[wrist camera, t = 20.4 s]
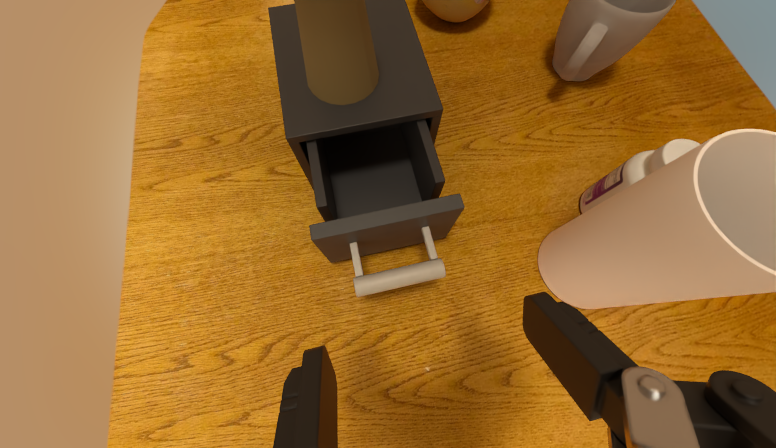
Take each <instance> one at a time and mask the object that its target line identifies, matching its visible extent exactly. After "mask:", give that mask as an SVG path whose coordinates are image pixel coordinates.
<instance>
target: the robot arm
mask: <svg viewBox="0 0 776 448" xmlns="http://www.w3.org/2000/svg"><path fill="white" fill-rule="evenodd" d="M523 329H524V332H525V335H526V337H527V338H528V340H529V341H530V343H531V344H532V345H533V347H534V348H535V349H536V351H537V352H538V353H539V355H540V356H541V357H542V359H543V360H544V361H545V363H546V364H547V365H548V367H549V368H550V369H551V371H552V372H553V373H554V374H555V376H556V377H557V378H558V380H559V381H560V382H561V384H562V385H563V386H564V388H565V389H566V390H567V392H568V393H569V394H570V396H571V397H572V398H573V400H574V401H575V402H576V404H577V405H578V406H579V408H580V409H581V410H582V411H583V413H584V414H585V415H586V417H587V418H588V419H589V421H592V420H596V419H599V418H603V420H604V421H605V422H606V423H607V425H608V428H607V433H608V444H609V448H776V392H775V391H773V390H772V389H771V388H769V387H768V386H766V385H765V384H763V383H762V382H760V381H758V380H756V379H754V378H752V377H750V376H747V375H744V374H741V373H738V372H734V371H723V370H722V371H717V372H714V373H713V374H712V375H711V376H710V378H709V380H708V382H689V381H674V380H671V379H669V378H668V377H667V376H665V375H663V374H662V373H660V372H658V371H655V370H653V369H649V368H646V367H639V366H638V365H637V364H636V363H634V362H633V361H632V360H631V359H630V358H629V357H628V356H627V355H626V354H625V353H624V352H623V351H621V350H620V349H619V348H618V347H617V346H616V345H615V344H614V343H613V342H612V341H611V340H610V339H609V338H607V337H606V336H605V335H604V334H603V333H602V332H601V331H600V330H598V329H597V327H596V326H595V325H593V324H592V323H591V322H589V321H588V319H587V318H586V317H585V316H584V315H583V314H582V313H581V312H579V311H578V310H577V309H576V308H574V307H572V306H570V305H568V304H566V303H564V302H558V303H557V302H556V301H555V300H554V299H553V298H552V297H551V296H550V295H549V294H548V293H546V292H540V293H536V294H532V295H528V296H525V297H524V306H523ZM273 448H338V438H337V381H336V375H335V372H334V369H333V366H332V363H331V360H330V358H329V355H328V352H327V350H326V347H325V346H320V347H316V348H312V349H308V350H305V351H304V353H303V361H302V366H301V367H297V368H293V369H292V370H291V372H290V373H289V375H288V377H287V379H286V381H285V382H284V387H283V393H282V400H281V405H280V413H279V416H278V422H277V428H276V434H275V440H274V445H273Z"/></svg>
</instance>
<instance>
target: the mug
mask: <svg viewBox="0 0 776 448" xmlns="http://www.w3.org/2000/svg"><path fill="white" fill-rule="evenodd" d="M675 2H676V0H570V1H569V3H568V5H567V7H566V9H565V12H564V14H563V17H562V20H561V22H560V26H559V29H558V32H557V37H556V42H555V51H554V56H553V59H552V65H553V68H554V69H555V71H556V72H557V73H558V74H559V76H560V78H562V79H564V80H566V81H584V80H587V79H589V78H590V77H591V76H593V75H594V74H596V73H597V72H599V71H601V70H603V69H605V68H606V67H608V66H610V65H611V64H613V63H614V62H616V61H617V60H618V59H620V58H621V57H622V56H624V55H625V54H626V53H627V52H629V51H630V50H631V49H632V48H633V47H634V46H636V45H637V44H638V43H639V42H640V41H641V40H642V39H643V38H644V37H645V36H646V35H647V34H648V33H649V32H650V31H651V30H652V29H653V28H654V27H655V26H656V25H657V24H658V23H659V21H660V20H661V19H662V18H663V17H664V16H665V15H666V14H667V13H668V12H669V10H670V9H671V8H672V6H673V5H674V4H675Z"/></svg>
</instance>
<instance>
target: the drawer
mask: <svg viewBox="0 0 776 448" xmlns="http://www.w3.org/2000/svg"><path fill="white" fill-rule="evenodd" d="M306 144H307V150H308V156H309V163H310V169H311V175H312V181H313V187H314V194H315V200H316V206H317V209H318V210H319V212H320V214H321V215H322V217H323V219H324V220H325V222H322V223H318V224H313V225H310V226H309V227H310V233H311V240H312V241H313V242H314V244H315V245H316V246H317V247H318V248H319V249H320V250H321V252H322V253H323V254H324V255H325V256H326V257H327V258H328V260H329V261H330V262H331V263H333V262H337V261H342V260H346V259H351V258H352V260H353V265H354V270H355V276H356V277H355V278H354V279H353V281H354V287H355V292H356V295H357V297H361V296H365V295H370V294H374V293H378V292H383V291H387V290H391V289H396V288H400V287H404V286H408V285H413V284H417V283H421V282H426V281H430V280H434V279H439V278H443V277H445V276H446V272H445V267H444V264H443V261H442V260H441V259H440V258H439V259H437V258H438V256H437V253H436V249H435V246H434V243H433V240H436V239H441V238H445V237H446V236H447V234H448V233H449V231H450V229H451V228H452V226H453V225H454V223H455V222H456V220H457V218H458V217H459V215H460V214H461V212H462V211H463V209H464V204H463V201H462V198H461V195H460V194H455V195H450V196H445V197H441V198H439V196H440V193H441V191H442V188H443V186H444V183H445V178H444V175H443V172H442V169H441V166H440V163H439V160H438V157H437V153H436V150H435V147H434V144H433V141H432V138H431V135H430V132H429V129H428V126H427V123H426V120H425V119H420V120H414V121H409V122H404V123H398V124H393V125H388V126H383V127H377V128H372V129H367V130H362V131H356V132H351V133H346V134H341V135H335V136H330V137H325V138H319V139H314V140H309V141H306ZM423 242H425V245H426V249H427V252H428V256H429V260H430V261H426V262H422V263H417V264H413V265H408V266H404V267H400V268H395V269H391V270H386V271H382V272H377V273H373V274H369V275H363V270H362V265H361V260H360V256H364V255H369V254H373V253H378V252H382V251H387V250H391V249H396V248H400V247H405V246H409V245H414V244H418V243H423Z"/></svg>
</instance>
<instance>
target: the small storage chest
mask: <svg viewBox="0 0 776 448" xmlns="http://www.w3.org/2000/svg"><path fill="white" fill-rule="evenodd" d="M365 4H366V10H367V15H368V20H369V25H370V30H371V35H372V40H373V45H374V50H375V56H376V61H377V66H378V71H379V79H378V84H377V85H376V87H375V89H374V91H373V92H372V93H371V94H370V95H368V96H367V97H366V98H365V99H363V100H361V101H358V102H356V103H353V104H347V105H336V104H330V103H327V102H324V101H322V100H320V99H319V98H318V97H316V96H315V95H314V94H313V93H312V92H311V90H310V88H309V87H308V83H307V76H306V70H305V64H304V57H303V51H302V45H301V39H300V32H299V26H298V20H297V13H296V7H295V4H290V5H283V6H277V7H271V8H268V10H269V17H270V25H271V32H272V39H273V47H274V54H275V62H276V69H277V76H278V84H279V91H280V98H281V106H282V113H283V120H284V128H285V135H286V139H287V141H288V143H289V145H290V147H291V149H292V151H293V152H294V154H295V156H296V158H297V160H298V162H299V164H300V165H301V167H302V169H303V171H304V173H305V175H306V177H307V178H308V180H309V182H310V184H311V186H312V188H313V190H314V187H313V181H312V175H311V169H310V163H309V156H308V150H307V144H306V141H309V140H314V139H319V138H325V137H330V136H335V135H341V134H346V133H351V132H356V131H362V130H367V129H372V128H377V127H383V126H388V125H393V124H398V123H404V122H409V121H414V120H420V119H425V120H426V123H427V126H428V129H429V132H430V135H431V138H432V141H433V144H434V143H435V139H436V135H437V131H438V128H439V124H440V120H441V115H442V112H443V107H442V104H441V101H440V98H439V95H438V93H437V90H436V87H435V84H434V81H433V78H432V76H431V73H430V70H429V67H428V64H427V61H426V59H425V56H424V53H423V50H422V47H421V44H420V42H419V39H418V36H417V33H416V30H415V27H414V25H413V22H412V19H411V16H410V13H409V10H408V8H407V5H406V2H405V0H365Z"/></svg>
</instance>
